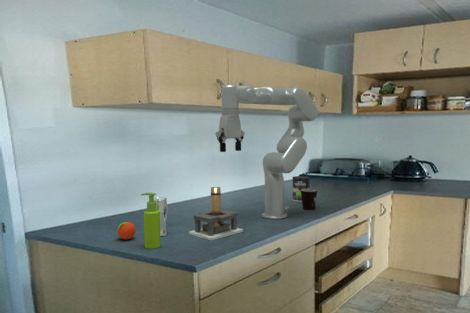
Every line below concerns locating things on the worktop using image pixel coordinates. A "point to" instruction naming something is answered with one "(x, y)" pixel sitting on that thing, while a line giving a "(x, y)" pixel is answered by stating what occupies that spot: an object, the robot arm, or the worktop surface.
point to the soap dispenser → (151, 224)
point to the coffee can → (300, 186)
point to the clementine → (126, 230)
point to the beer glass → (162, 214)
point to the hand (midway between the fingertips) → (230, 151)
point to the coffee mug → (308, 199)
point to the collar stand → (209, 229)
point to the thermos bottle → (216, 204)
